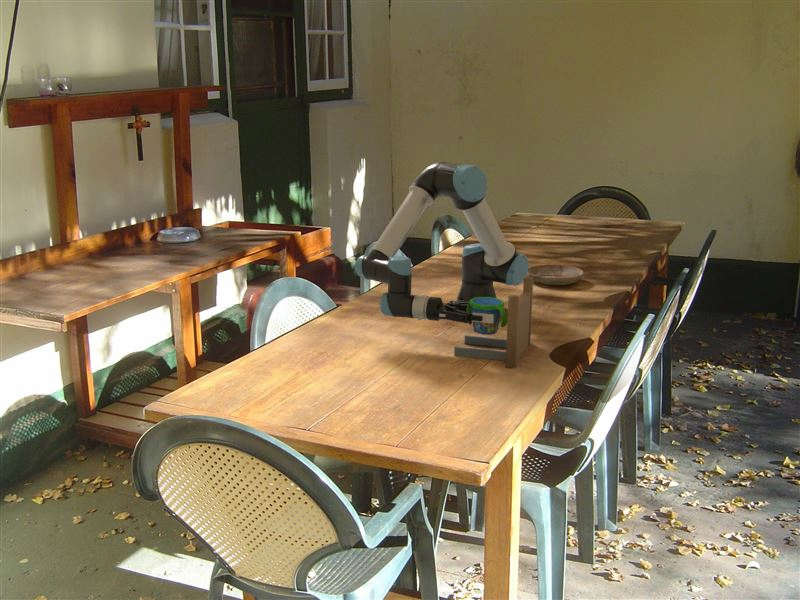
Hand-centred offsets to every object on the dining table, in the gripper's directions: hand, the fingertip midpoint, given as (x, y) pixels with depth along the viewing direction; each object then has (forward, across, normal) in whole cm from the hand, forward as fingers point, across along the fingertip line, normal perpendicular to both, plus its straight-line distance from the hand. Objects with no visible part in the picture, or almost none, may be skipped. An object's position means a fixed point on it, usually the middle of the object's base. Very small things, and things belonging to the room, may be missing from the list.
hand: (497, 314), depth 292 cm
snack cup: (-3, 0, -6) cm, 7 cm away
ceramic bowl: (+3, -99, -12) cm, 100 cm away
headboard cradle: (-1, 0, -12) cm, 13 cm away
